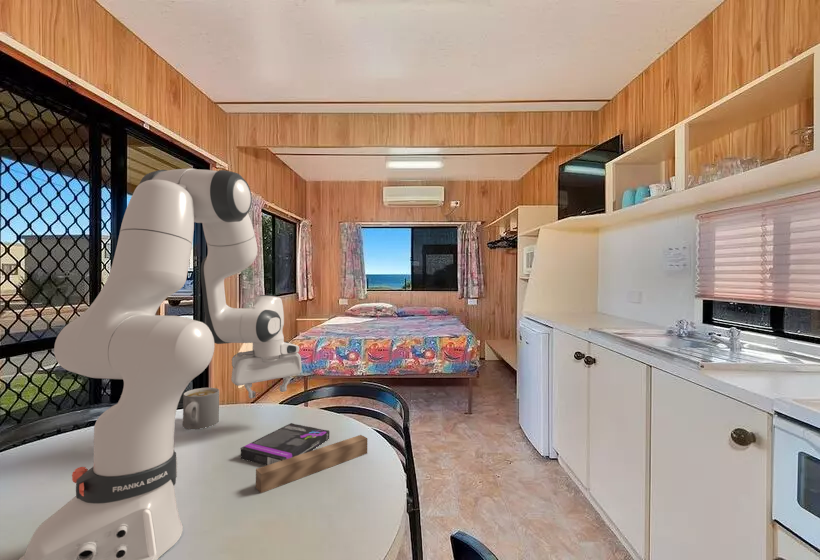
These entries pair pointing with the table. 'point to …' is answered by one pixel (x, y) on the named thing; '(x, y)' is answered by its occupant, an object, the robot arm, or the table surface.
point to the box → (284, 444)
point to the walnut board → (309, 463)
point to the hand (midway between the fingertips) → (268, 394)
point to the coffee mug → (200, 408)
